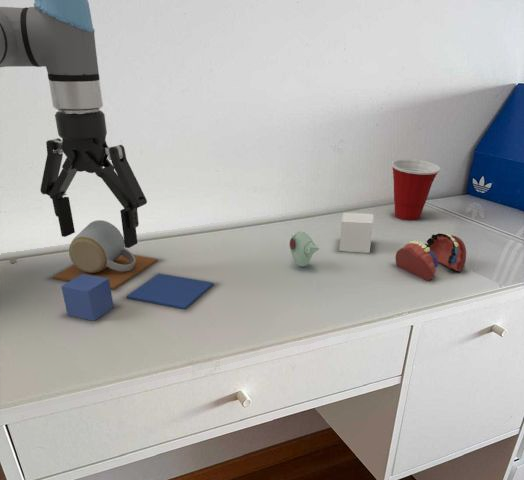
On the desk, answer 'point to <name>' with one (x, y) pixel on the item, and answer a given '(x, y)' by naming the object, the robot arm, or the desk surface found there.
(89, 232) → the ceramic mug
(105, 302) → the blue block
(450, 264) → the teeth model
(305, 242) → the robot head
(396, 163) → the plastic cup
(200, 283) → the blue mat
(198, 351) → the desk surface
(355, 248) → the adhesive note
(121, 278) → the cork mat
